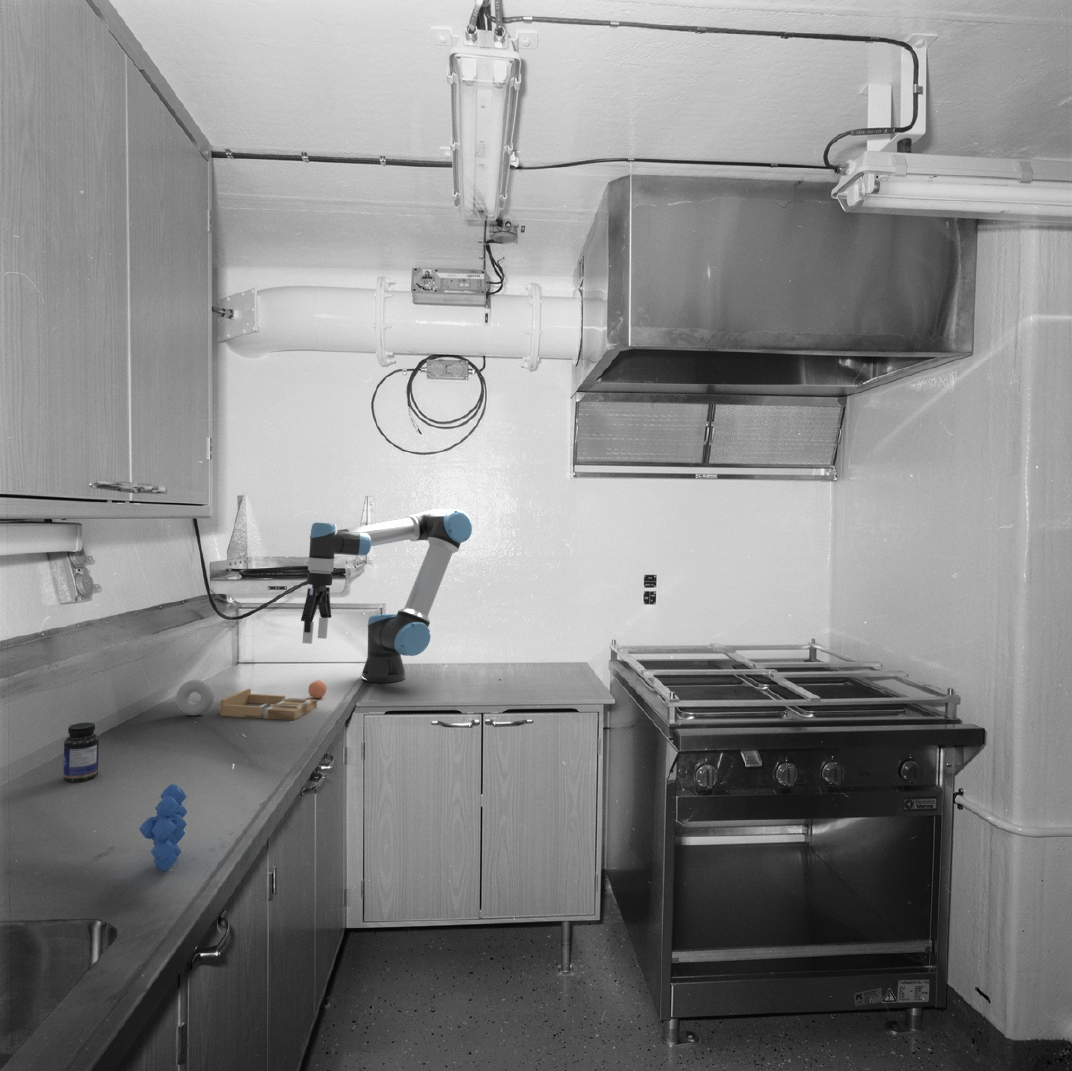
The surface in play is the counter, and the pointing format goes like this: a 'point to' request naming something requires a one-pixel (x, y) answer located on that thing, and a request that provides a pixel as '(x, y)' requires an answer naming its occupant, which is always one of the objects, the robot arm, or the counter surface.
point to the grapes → (166, 827)
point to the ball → (317, 689)
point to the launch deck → (290, 708)
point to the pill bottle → (81, 753)
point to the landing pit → (247, 704)
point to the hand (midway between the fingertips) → (314, 640)
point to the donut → (185, 702)
